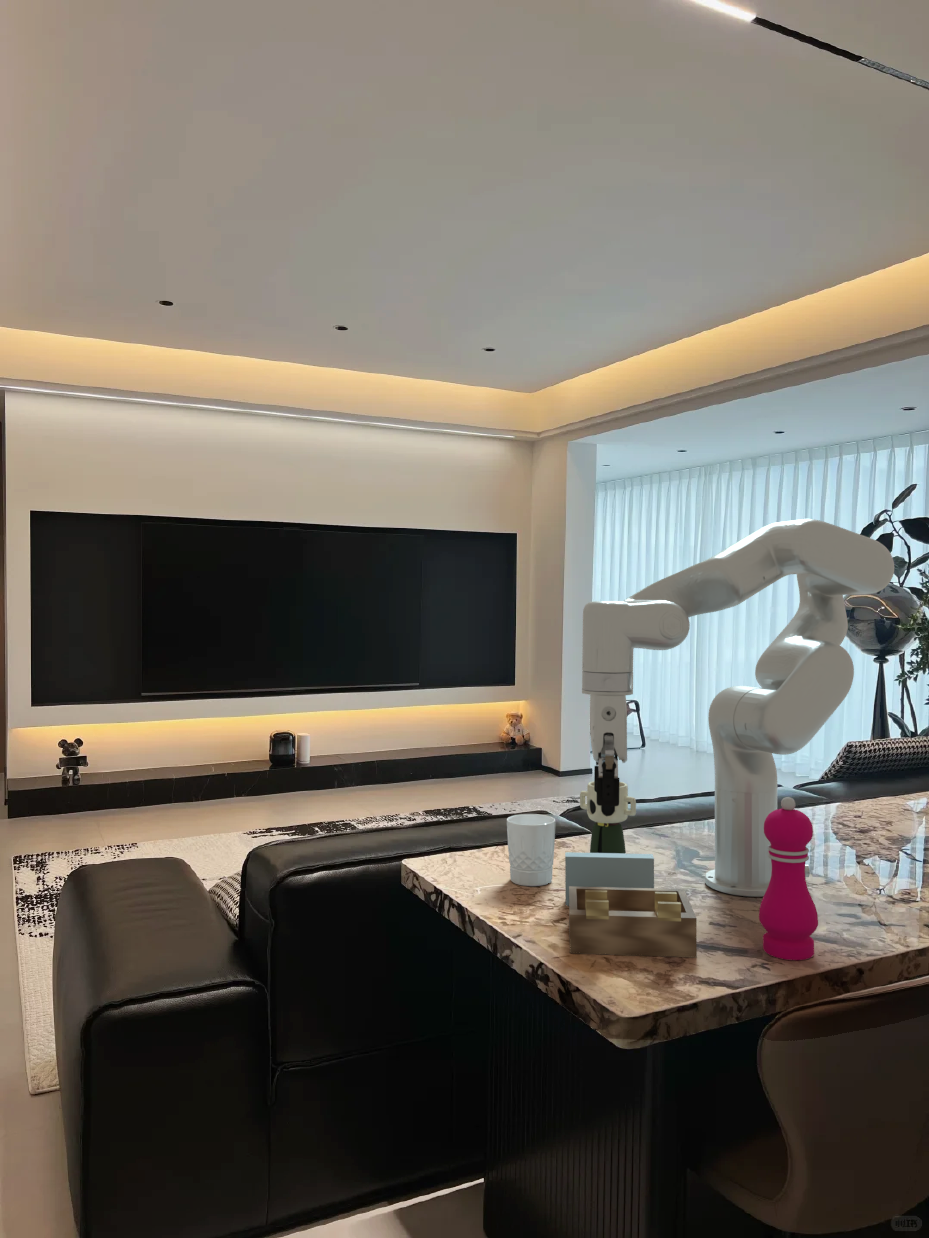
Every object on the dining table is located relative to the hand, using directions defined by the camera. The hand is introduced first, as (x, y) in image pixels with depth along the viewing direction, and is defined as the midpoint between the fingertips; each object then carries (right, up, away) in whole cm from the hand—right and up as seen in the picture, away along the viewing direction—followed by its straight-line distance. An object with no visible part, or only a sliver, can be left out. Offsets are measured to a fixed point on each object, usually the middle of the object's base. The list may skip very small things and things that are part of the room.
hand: (606, 798), depth 139 cm
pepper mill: (+21, -16, -19) cm, 32 cm away
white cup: (-10, -16, +13) cm, 23 cm away
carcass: (+1, -16, -14) cm, 21 cm away
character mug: (+4, -16, +26) cm, 31 cm away
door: (+1, -16, 0) cm, 16 cm away
